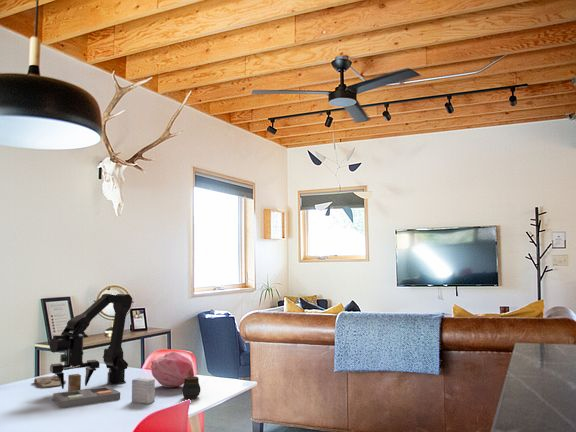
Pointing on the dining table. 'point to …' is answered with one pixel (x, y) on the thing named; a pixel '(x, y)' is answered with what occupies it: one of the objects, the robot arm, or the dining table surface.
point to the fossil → (47, 381)
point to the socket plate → (86, 396)
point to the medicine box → (143, 390)
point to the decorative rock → (171, 369)
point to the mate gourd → (191, 387)
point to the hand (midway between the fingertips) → (74, 387)
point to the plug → (74, 382)
